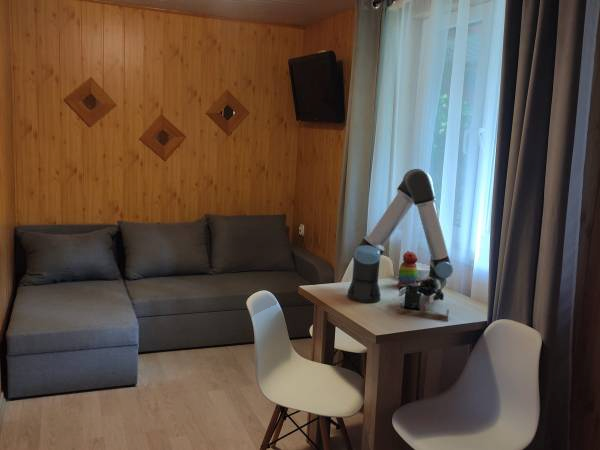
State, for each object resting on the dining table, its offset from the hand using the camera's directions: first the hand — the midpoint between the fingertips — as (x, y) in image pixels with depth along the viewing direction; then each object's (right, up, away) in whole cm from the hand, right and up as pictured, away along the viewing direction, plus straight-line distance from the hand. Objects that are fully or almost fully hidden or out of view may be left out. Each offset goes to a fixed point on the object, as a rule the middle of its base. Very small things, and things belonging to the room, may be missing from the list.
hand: (414, 296), depth 252 cm
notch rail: (+3, -7, -1) cm, 8 cm away
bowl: (+12, +2, +60) cm, 61 cm away
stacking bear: (+5, 0, +43) cm, 43 cm away
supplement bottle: (-1, -7, +1) cm, 7 cm away
